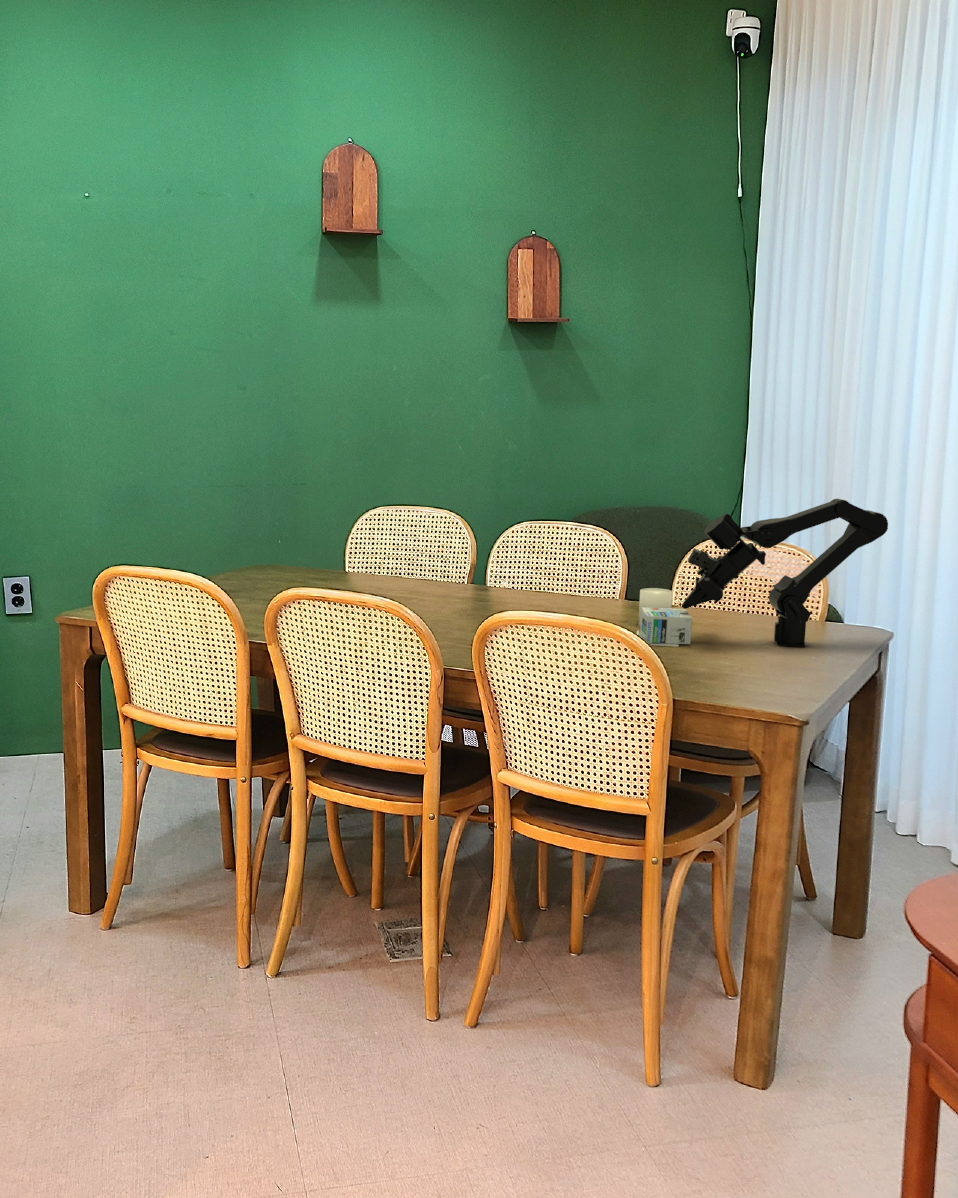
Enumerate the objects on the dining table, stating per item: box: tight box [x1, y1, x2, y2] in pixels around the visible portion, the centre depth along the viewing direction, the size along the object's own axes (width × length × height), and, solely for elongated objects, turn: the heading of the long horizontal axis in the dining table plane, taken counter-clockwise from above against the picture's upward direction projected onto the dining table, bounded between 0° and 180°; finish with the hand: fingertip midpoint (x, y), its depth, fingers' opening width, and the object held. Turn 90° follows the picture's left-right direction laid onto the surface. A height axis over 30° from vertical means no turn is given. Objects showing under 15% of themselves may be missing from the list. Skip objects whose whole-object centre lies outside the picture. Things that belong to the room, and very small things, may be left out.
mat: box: [636, 630, 680, 648], centre depth 262 cm, size 10×14×1 cm
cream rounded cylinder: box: [638, 587, 673, 626], centre depth 277 cm, size 8×8×9 cm
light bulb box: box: [638, 607, 693, 645], centre depth 259 cm, size 11×7×11 cm
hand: (682, 607), depth 259 cm, fingers closed
